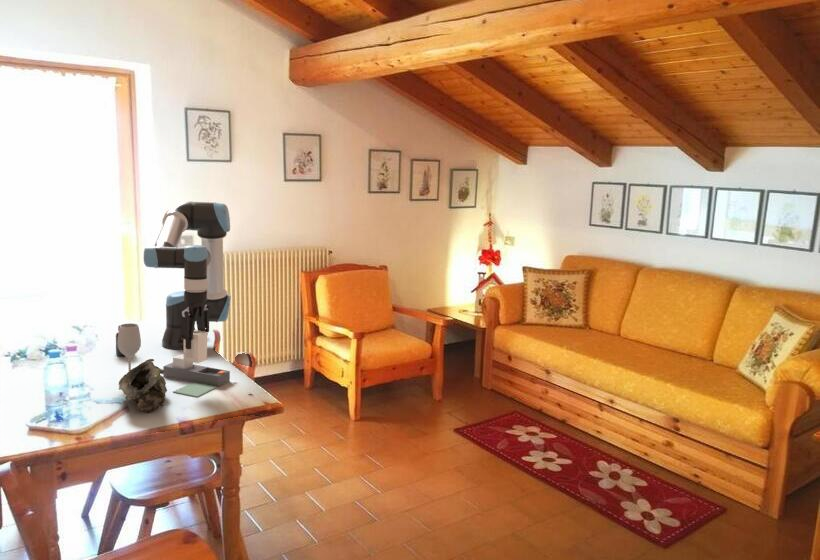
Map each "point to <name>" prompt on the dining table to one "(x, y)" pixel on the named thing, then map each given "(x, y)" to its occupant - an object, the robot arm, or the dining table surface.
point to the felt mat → (194, 389)
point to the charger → (198, 347)
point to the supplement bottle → (117, 346)
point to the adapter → (181, 362)
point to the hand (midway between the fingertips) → (195, 355)
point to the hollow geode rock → (144, 386)
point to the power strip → (198, 374)
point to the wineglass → (129, 340)
